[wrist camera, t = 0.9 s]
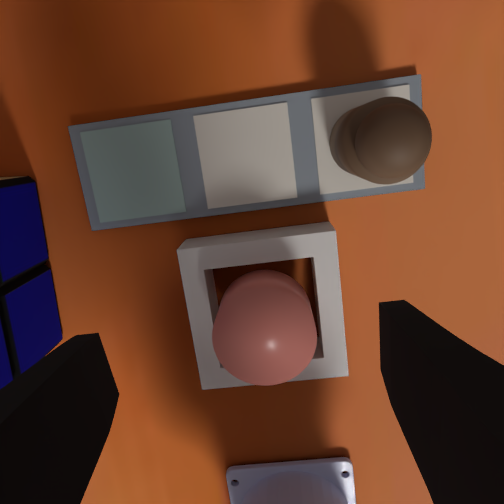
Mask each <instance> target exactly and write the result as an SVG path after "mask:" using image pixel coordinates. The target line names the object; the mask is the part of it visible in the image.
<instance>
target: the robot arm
mask: <svg viewBox="0 0 504 504" xmlns="http://www.w3.org/2000/svg"><path fill="white" fill-rule="evenodd" d="M379 325H380V366H381V372H382V376H383V379H384V383H385V386H386V390H387V393H388V396H389V399H390V403H391V406H392V408H393V411H394V413H395V415H396V418H397V420H398V422H399V424H400V427H401V429H402V431H403V434H404V436H405V438H406V441H407V443H408V445H409V447H410V450H411V452H412V454H413V456H414V459H415V461H416V463H417V466H418V468H419V470H420V472H421V475H422V477H423V479H424V481H425V484H426V486H427V488H428V491H429V493H430V496H431V498H432V501H433V503H434V504H504V365H502V364H500V363H498V362H497V361H495V360H493V359H492V358H490V357H488V356H487V355H485V354H483V353H481V352H480V351H478V350H477V349H475V348H473V347H472V346H470V345H469V344H467V343H466V342H464V341H463V340H461V339H459V338H458V337H457V336H455V335H454V334H452V333H451V332H449V331H448V330H446V329H445V328H443V327H442V326H440V325H439V324H438V323H436V322H435V321H433V320H432V319H431V318H429V317H428V316H426V315H425V314H424V313H422V312H421V311H419V310H418V309H417V308H415V307H414V306H412V305H411V304H410V303H408V302H407V301H405V300H399V301H389V302H380V303H379ZM118 397H119V392H118V389H117V386H116V383H115V380H114V377H113V374H112V372H111V369H110V366H109V363H108V360H107V357H106V354H105V351H104V348H103V345H102V342H101V339H100V336H99V333H93V334H84V335H76V336H74V337H72V338H71V339H69V340H68V341H66V342H65V343H63V344H62V345H60V346H59V347H57V348H56V349H54V350H53V351H52V352H50V353H49V354H48V355H46V356H45V357H44V358H42V359H41V360H39V361H38V362H37V363H35V364H34V365H33V366H31V367H30V368H29V369H27V370H26V371H25V372H23V373H22V374H21V375H19V376H18V377H17V378H15V379H14V380H12V381H11V382H10V383H8V384H7V385H6V386H4V387H3V388H1V389H0V504H80V503H81V501H82V498H83V496H84V493H85V491H86V488H87V486H88V484H89V481H90V479H91V476H92V474H93V472H94V469H95V467H96V464H97V462H98V459H99V457H100V454H101V452H102V449H103V447H104V444H105V442H106V439H107V437H108V434H109V432H110V428H111V425H112V421H113V418H114V414H115V410H116V406H117V401H118ZM343 471H348V472H347V473H342V472H343ZM226 479H227V485H228V490H229V496H230V502H231V504H356V497H355V486H354V475H353V466H352V462H351V460H350V459H349V458H347V457H337V458H325V459H313V460H300V461H288V462H276V463H264V464H251V465H239V466H231V467H229V468H228V469H227V472H226ZM232 480H237V482H234V481H232Z"/></svg>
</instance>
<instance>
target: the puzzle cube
mask: <svg viewBox="0 0 504 504" xmlns="http://www.w3.org/2000/svg"><path fill="white" fill-rule="evenodd" d="M48 259H49V257H48V252H47V246H46V240H45V234H44V229H43V223H42V217H41V212H40V206H39V200H38V195H37V189H36V183H35V181H34V180H33V179H32V178H30V177H29V176H18V177H0V389H1V388H3V387H4V386H6V385H7V384H8V383H10V382H11V381H12V380H14V379H15V378H17V377H18V376H19V375H21V374H22V373H23V372H25V371H26V370H27V369H29V368H30V367H31V366H33V365H34V364H35V363H37V362H38V361H39V360H41V359H42V358H44V357H45V356H46V355H47V354H48V353H49V352H50V351H51V350H52V349H53V348H54V347H55V346H56V345H57V344H58V343H59V342H60V341H61V340H62V339H63V338H62V332H61V326H60V321H59V315H58V309H57V303H56V298H55V292H54V286H53V281H52V275H51V269H50V268H49V267H47V266H46V265H45V262H46V261H47V260H48Z"/></svg>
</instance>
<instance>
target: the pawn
mask: <svg viewBox="0 0 504 504" xmlns="http://www.w3.org/2000/svg"><path fill="white" fill-rule="evenodd" d="M329 142H330V151H331V155H332V157H333V159H334V161H335V162H336V164H337V165H338V166H339V167H340V168H341V169H343V170H344V171H346V172H348V173H350V174H353V175H355V176H357V177H360V178H362V179H365V180H367V181H370V182H372V183H376V184H384V185H386V184H394V183H398V182H401V181H403V180H405V179H407V178H409V177H410V176H412V175H413V174H414V173H416V172H417V171H418V170H419V169H420V167H421V166H422V165H423V163H424V162H425V160H426V158H427V156H428V154H429V151H430V148H431V142H432V133H431V127H430V123H429V121H428V118H427V117H426V115H425V113H424V112H423V111H422V109H420V108H419V107H418V106H417V105H416V104H415V103H413V102H411V101H409V100H407V99H405V98H401V97H393V96H391V97H383V98H379V99H376V100H373V101H371V102H368V103H366V104H363V105H361V106H358V107H356V108H353V109H351V110H349V111H347V112H346V113H344V114H343V115H342V116H341V117H340V118H339V119H338V120H337V122H336V123H335V125H334V127H333V129H332V131H331V135H330V141H329Z"/></svg>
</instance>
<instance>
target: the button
mask: <svg viewBox="0 0 504 504" xmlns="http://www.w3.org/2000/svg"><path fill="white" fill-rule="evenodd" d="M212 343H213V348H214V351H215V354H216V356H217V358H218V360H219V362H220V363H221V364H222V366H223V367H224V368H225V369H226V370H227V371H228V372H229V373H230V374H232V375H233V376H234V377H236V378H238V379H240V380H242V381H244V382H247V383H250V384H254V385H262V386H268V385H276V384H280V383H284V382H286V381H289V380H291V379H293V378H294V377H296V376H297V375H299V374H300V373H301V372H302V371H303V370H304V369H305V368H306V367H307V366H308V364H309V363H310V361H311V360H312V358H313V355H314V353H315V349H316V345H317V332H316V326H315V322H314V318H313V314H312V309H311V305H310V301H309V298H308V296H307V294H306V292H305V291H304V289H303V288H302V286H301V285H300V284H299V283H298V282H297V281H296V280H294V279H293V278H291V277H290V276H288V275H286V274H284V273H281V272H278V271H274V270H256V271H252V272H248V273H246V274H244V275H242V276H240V277H239V278H237V279H236V280H235V281H233V282H232V283H231V284H230V286H229V287H228V288H227V290H226V291H225V293H224V295H223V297H222V300H221V303H220V306H219V309H218V313H217V316H216V319H215V322H214V325H213V330H212Z"/></svg>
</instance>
